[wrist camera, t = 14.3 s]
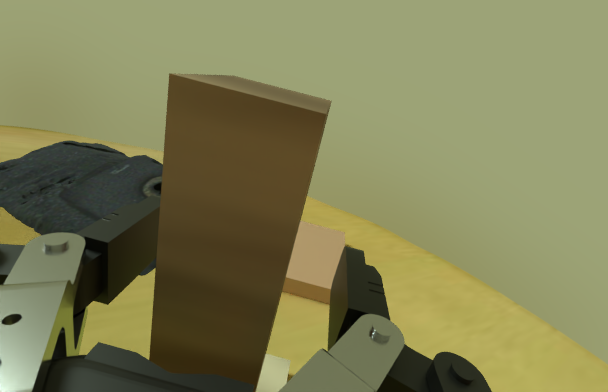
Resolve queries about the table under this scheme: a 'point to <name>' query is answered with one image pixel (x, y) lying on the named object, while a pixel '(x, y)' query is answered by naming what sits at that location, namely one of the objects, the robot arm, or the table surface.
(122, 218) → the robot arm
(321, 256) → the tile
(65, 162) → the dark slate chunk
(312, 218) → the table surface
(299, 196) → the brown post on base
